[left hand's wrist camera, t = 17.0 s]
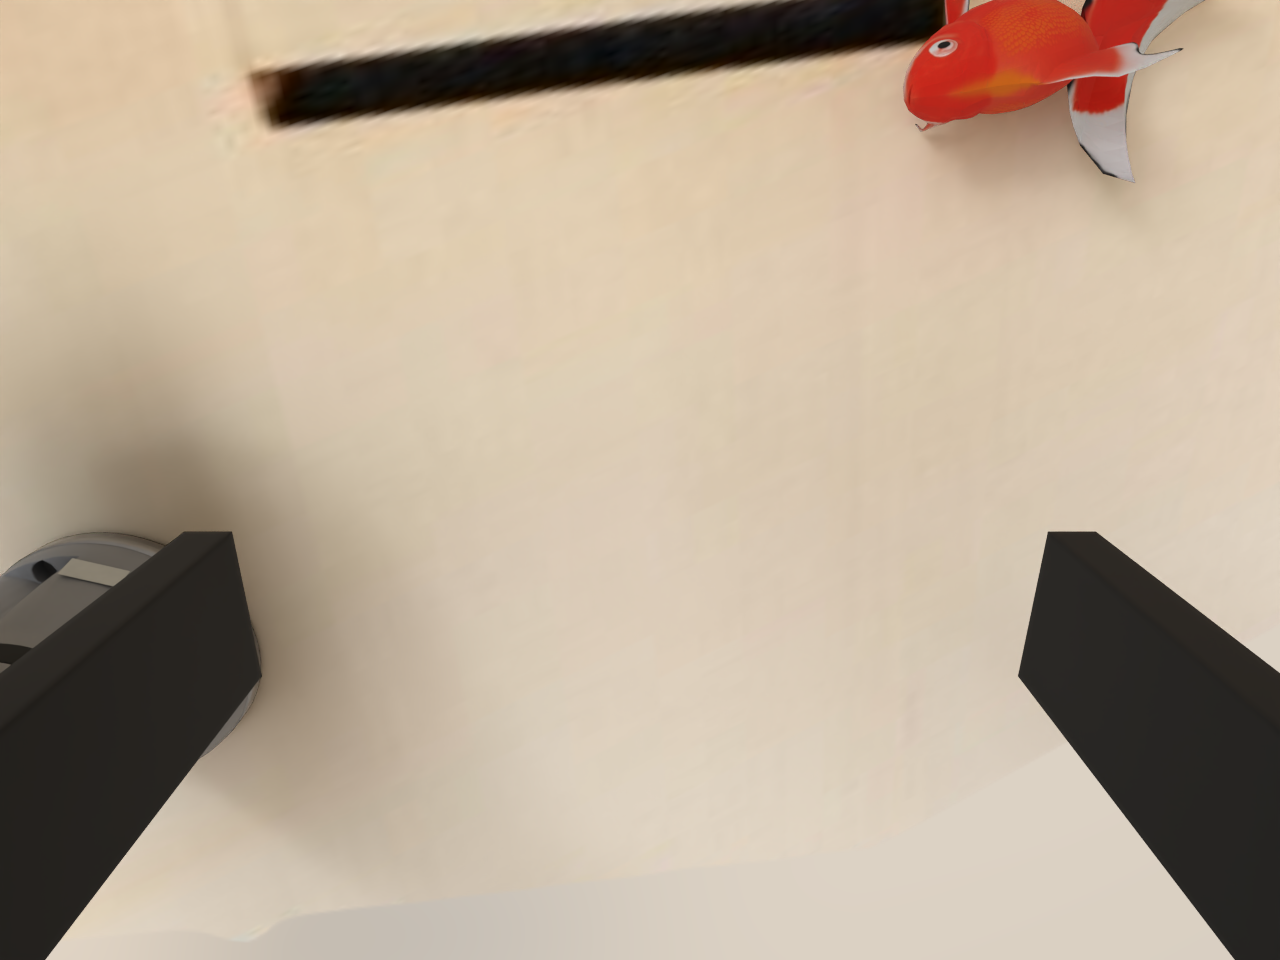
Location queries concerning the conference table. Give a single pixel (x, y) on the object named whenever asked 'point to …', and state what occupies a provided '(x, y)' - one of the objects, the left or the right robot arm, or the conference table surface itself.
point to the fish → (1042, 64)
